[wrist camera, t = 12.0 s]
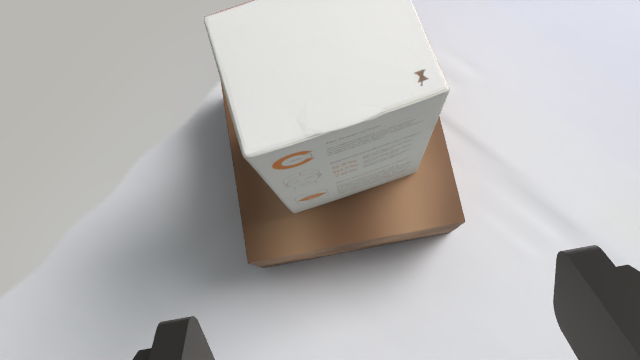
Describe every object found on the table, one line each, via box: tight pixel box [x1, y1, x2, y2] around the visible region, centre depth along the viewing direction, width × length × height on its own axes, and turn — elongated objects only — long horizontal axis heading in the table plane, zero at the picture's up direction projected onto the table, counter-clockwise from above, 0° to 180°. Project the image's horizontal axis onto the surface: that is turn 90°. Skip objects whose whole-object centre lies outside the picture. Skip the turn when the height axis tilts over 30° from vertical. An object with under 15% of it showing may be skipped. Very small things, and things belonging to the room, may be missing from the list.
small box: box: [204, 0, 450, 214], centre depth 26 cm, size 8×6×13 cm
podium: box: [221, 82, 465, 268], centre depth 35 cm, size 13×13×5 cm
